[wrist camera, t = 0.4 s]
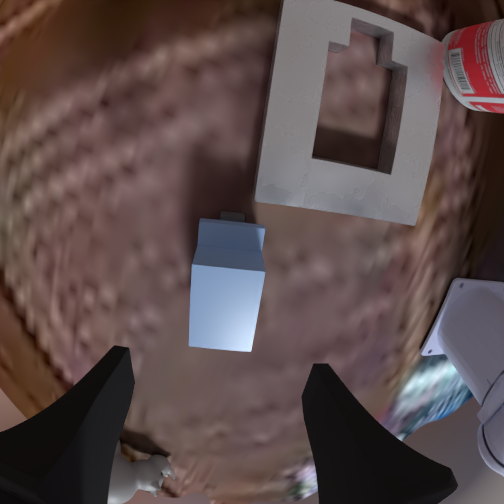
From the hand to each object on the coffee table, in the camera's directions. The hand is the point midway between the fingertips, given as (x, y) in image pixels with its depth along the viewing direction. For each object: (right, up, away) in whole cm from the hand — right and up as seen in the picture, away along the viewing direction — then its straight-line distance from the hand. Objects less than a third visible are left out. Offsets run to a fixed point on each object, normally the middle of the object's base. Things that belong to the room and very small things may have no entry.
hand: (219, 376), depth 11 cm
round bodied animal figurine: (-14, -19, +18) cm, 29 cm away
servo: (0, +4, +9) cm, 9 cm away
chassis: (+7, +13, +5) cm, 16 cm away
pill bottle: (+16, +18, +4) cm, 24 cm away
